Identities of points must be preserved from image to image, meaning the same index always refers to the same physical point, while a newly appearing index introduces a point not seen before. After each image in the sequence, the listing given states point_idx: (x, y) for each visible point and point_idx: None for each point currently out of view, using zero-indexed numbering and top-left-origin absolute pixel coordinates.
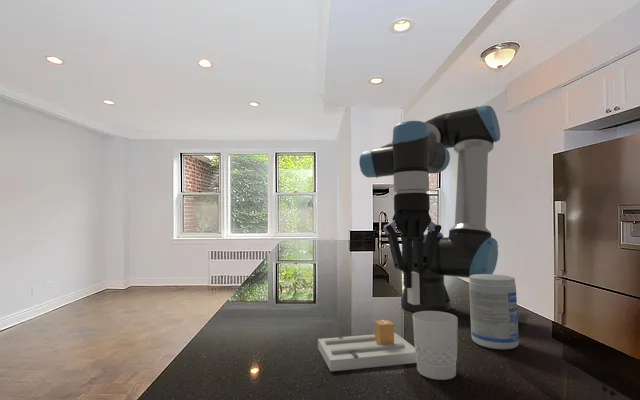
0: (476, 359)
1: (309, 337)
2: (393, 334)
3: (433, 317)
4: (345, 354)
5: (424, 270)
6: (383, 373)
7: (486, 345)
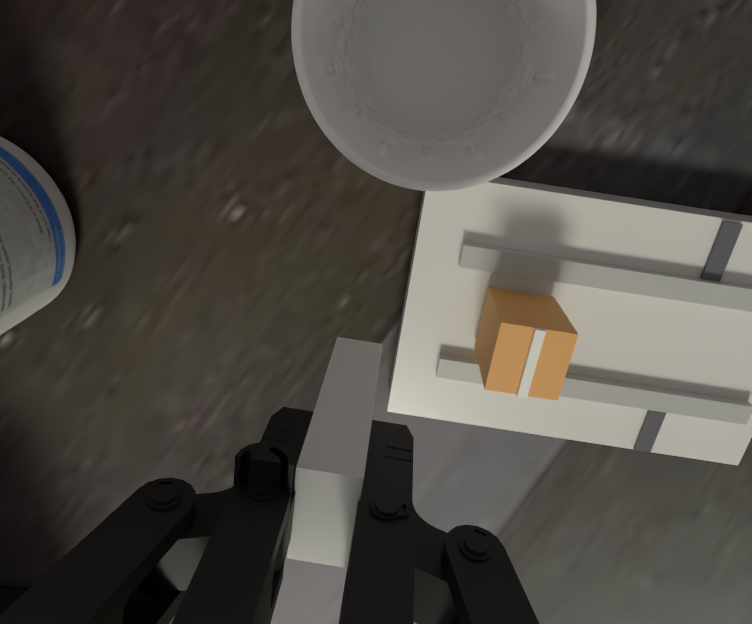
0: (181, 102)
1: (678, 548)
2: (496, 301)
3: (368, 152)
4: (747, 272)
5: (242, 461)
6: (639, 129)
7: (56, 186)
